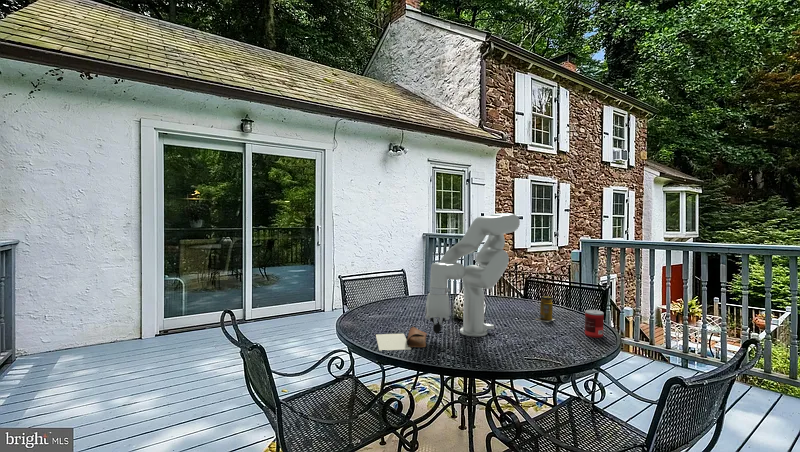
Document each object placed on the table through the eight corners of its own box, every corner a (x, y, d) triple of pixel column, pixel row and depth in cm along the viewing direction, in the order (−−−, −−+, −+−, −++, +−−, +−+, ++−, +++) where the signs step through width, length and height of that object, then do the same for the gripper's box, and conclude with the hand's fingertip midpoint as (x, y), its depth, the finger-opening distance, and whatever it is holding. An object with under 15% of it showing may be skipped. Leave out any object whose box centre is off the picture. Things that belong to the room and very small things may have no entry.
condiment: (555, 319, 208) (555, 296, 208) (548, 322, 203) (548, 299, 202) (542, 316, 214) (542, 294, 213) (534, 319, 208) (535, 297, 207)
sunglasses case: (427, 346, 163) (419, 332, 163) (412, 354, 164) (404, 340, 164) (427, 333, 181) (420, 320, 181) (414, 340, 182) (407, 328, 182)
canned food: (602, 334, 184) (603, 310, 183) (603, 339, 176) (604, 314, 176) (584, 331, 187) (585, 308, 186) (584, 336, 180) (585, 312, 179)
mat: (403, 333, 182) (403, 333, 182) (411, 349, 162) (411, 349, 162) (375, 334, 181) (375, 334, 181) (379, 350, 160) (379, 350, 160)
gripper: (452, 289, 178) (451, 330, 178) (420, 289, 176) (418, 330, 176) (457, 293, 170) (455, 335, 171) (423, 292, 168) (421, 335, 169)
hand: (436, 332), depth 173 cm, fingers closed
